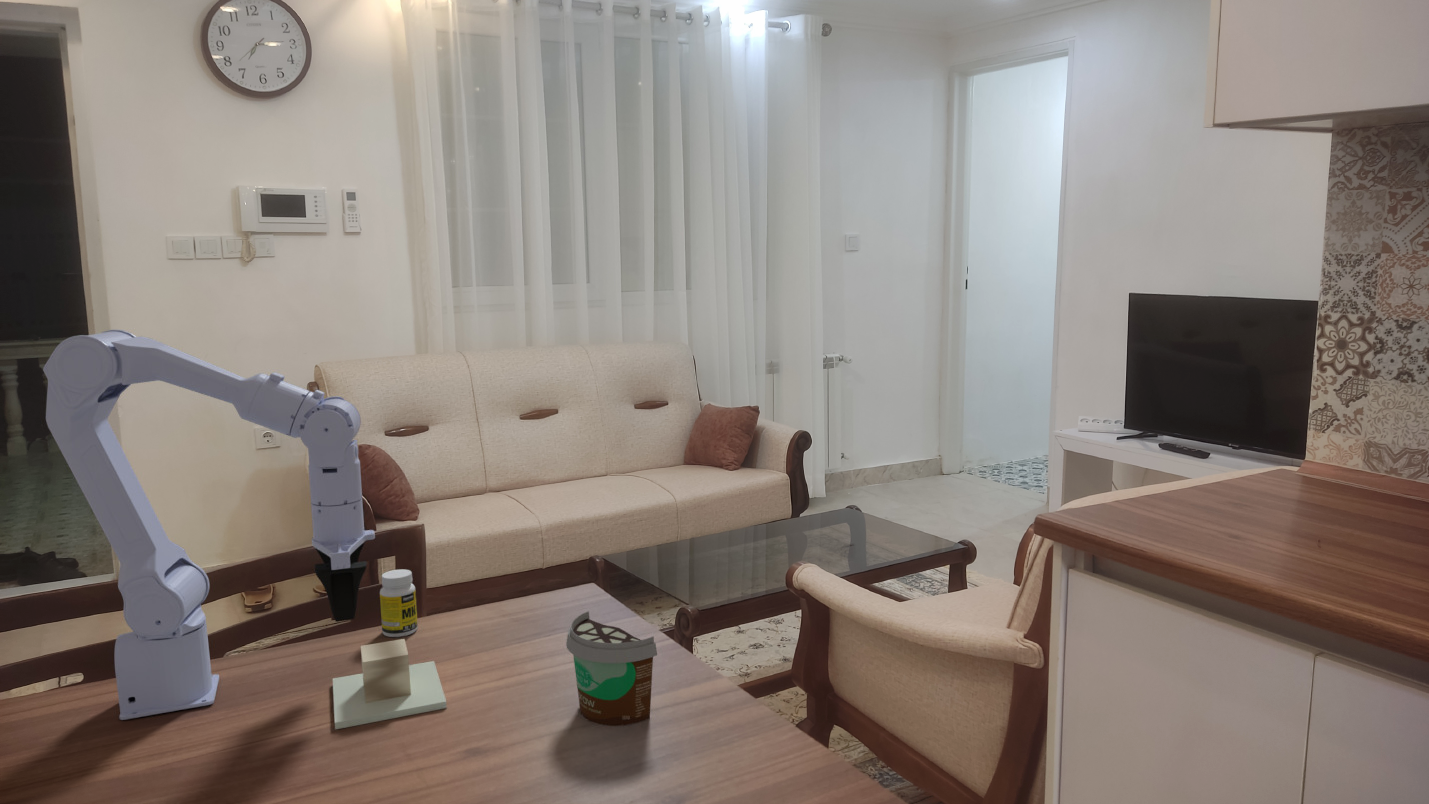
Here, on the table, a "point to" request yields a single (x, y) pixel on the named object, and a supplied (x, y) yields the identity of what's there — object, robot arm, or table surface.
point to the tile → (356, 710)
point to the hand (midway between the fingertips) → (344, 608)
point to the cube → (385, 670)
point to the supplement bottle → (398, 603)
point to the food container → (611, 672)
